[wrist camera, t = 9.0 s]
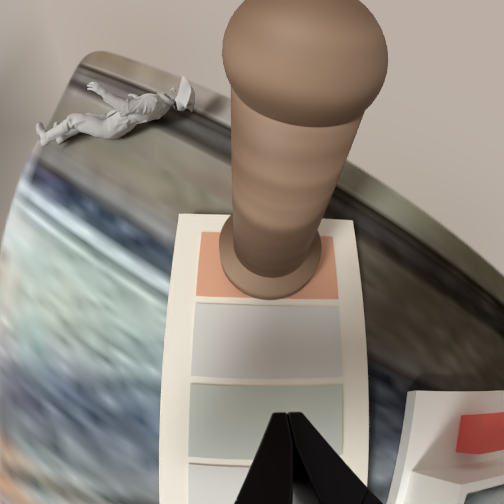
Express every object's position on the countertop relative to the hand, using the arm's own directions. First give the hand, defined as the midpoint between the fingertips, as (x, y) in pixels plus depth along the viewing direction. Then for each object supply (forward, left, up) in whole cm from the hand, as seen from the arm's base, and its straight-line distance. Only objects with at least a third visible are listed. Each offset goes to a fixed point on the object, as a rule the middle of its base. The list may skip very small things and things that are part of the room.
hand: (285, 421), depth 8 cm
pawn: (+8, +1, -6) cm, 10 cm away
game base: (-5, -12, -7) cm, 15 cm away
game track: (-1, 0, -7) cm, 7 cm away
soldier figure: (+16, +14, -7) cm, 23 cm away
